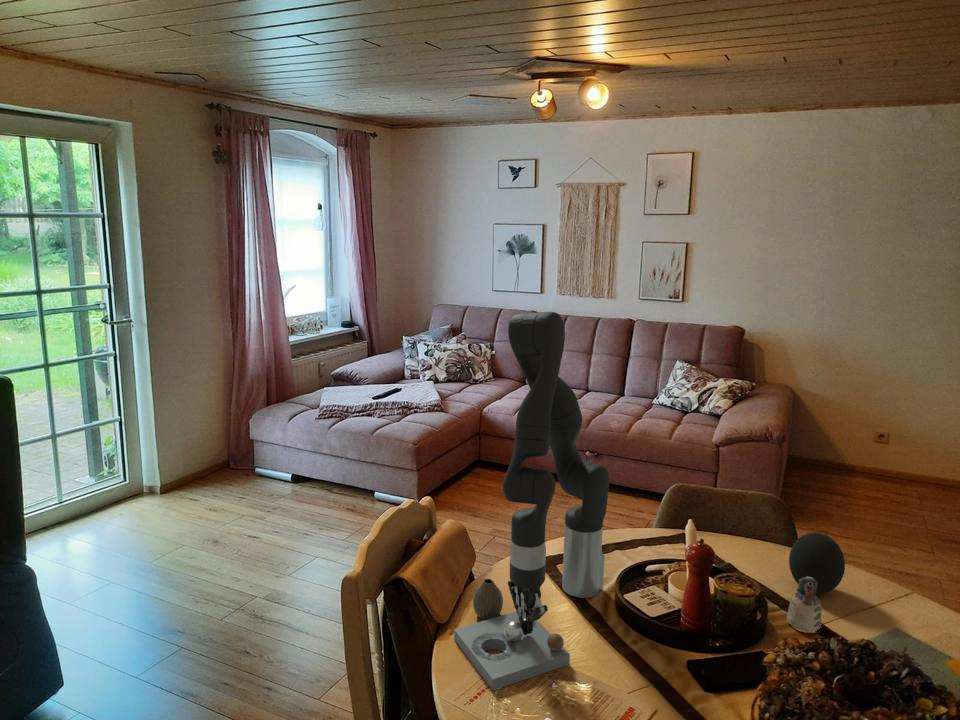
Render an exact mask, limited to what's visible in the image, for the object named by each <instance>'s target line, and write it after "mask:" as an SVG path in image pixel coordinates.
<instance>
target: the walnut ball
mask: <svg viewBox="0 0 960 720" xmlns="http://www.w3.org/2000/svg"><path fill="white" fill-rule="evenodd" d="M550 634H551V635H550V636H549V637H548V640H547V644H548V647H549V648H550V649H551V650H553V651H559V650H560V649H561V648H562V647H564V643H565V641H564V638H563V637H562V635H561V634H559V633H556V632H555V633H550Z"/></svg>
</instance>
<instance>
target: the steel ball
mask: <svg viewBox="0 0 960 720" xmlns="http://www.w3.org/2000/svg"><path fill="white" fill-rule="evenodd" d="M505 635H506V637H507V638H508V639H509V640H510V641H518V640H519V639H521V637H522V636H523V627H522V625H521V624H520V623H519V622H516V621H511V622H509V623H508V624H507V625H506V627H505Z"/></svg>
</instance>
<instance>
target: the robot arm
mask: <svg viewBox="0 0 960 720" xmlns="http://www.w3.org/2000/svg"><path fill="white" fill-rule="evenodd" d="M507 326H508V327H507V334H508V340H509V344H510V347H511V350H512V353H513V355H514V357H515V359H516V361H517V363H518V365H519V367H520V369H521V371H522V373H523V375H524V377H525V380H526V382H527V384H528V386H529V391H528V392H527V393H526V395H525V397H524V399H523V400H522V402H521V404H520V406H519V408H518V412H517V415H516V422H515V434H514V435H515V436H514V446H513V451H512V455H511V458H510V459H511V460H510V462H509V465H508V467H507V471H506V473H505V475H504V478H503V481H502V492H503V495H504V497H505V499H506V500H507V501H509V502H511V503H518V504H529V505H530V504H531V505H535V506H532V507H527V508H523V509H519V510H516V511H515V512H513V514H512V516H511V524H510V525H511V527H510V528H511V532H510V533H511V534H510V535H511V536H510V538H511V539H510V540H511V541H510V546H509V581H508V582H507V586H508V589H509V592H510V596H511V599H512V602H513V606H514V609H515V610H516V609H518V613H519V616H521V618H520V624H521V625H522V627H523V634H524V635H527V634H530V633H532V631H533V621H535V620H537V621H538V620H540V619H541V618H542V617H543V616H544V615H545V614H546V613H547V611H549V608H548V606H547V604H544V605H543V602H542V601H541V598H542V593H541V587H542V585H543V584H544V583H545V581H546V565H547V563H546V562H547V559H546V558H547V548H546V547H547V546H546V524H547V516H548V511H549V509H550V505H551V502H552V500H553V498H554V495H555V491H556V484H557V483H556V479H555V476H554V475H553V473H552V472H551V471H550V470H547V469H542V468H527V467H526V468H525V467H523V466H524V463H525V462H526V461H527V460H530V459H535V458H542V457H545V456H547V455H548V453H549V447H550V449H551V453H552V456H553V460H554V461H553V462H554V466H555V470H556V471H555V472H556V475H557V479H558V482H559V485H560V488H561V490H562V491H563V492H564V493H566V494H568V495H570V496H572V497H574V498H577V499H580V500H581V501H582V503H581V505H580V506H579V505H578V506H574V507H572V508H569V509H568V510H566V512H565V514H564V515H565V516H564V536H563V537H564V538H563V561H562V579H561V580H562V582H561V583H562V585H561V586H562V589H563V591H564V592H565V593H566V594H567V595H569V596H571V597H575V598H578V599H579V598H582V599H584V598H585V599H589V598H592V597H595V596H598V594H599V593H600V591H602V589H604V575H605V559H606V558H605V554H604V552H603V551H602V549H603V548H602V547H603V530H604V527H603V526H604V520H605V516H606V513H607V505H608V498H609V491H610V490H609V489H610V474H609V471H608V469H607V467H605V466H604V465H601V464H598V463H595V462H593V461H589V460H586V459H585V458H582V456H581V455H580V453H579V451H578V448H577V445H576V440H577V438H578V436H579V434H580V431H581V429H582V426H583V413H582V410H581V407H580V405H579V401H578V399H577V398H578V397H577V396H576V394H575V392H574V390H573V389H572V388H571V386H570V385H568V384H567V383H566V381H564V379H562V378H561V377H560V375H559V374H560V370H561V363H562V359H563V354H564V349H565V342H566V326H565V323H564V319H563V317H562V316H561V315H560V314H559V313H557V312H555V311H538V312H524V313H523V312H522V313H517V314H515V315H513V316H512V317H511V318H510V319H509V321H508V325H507Z"/></svg>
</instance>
